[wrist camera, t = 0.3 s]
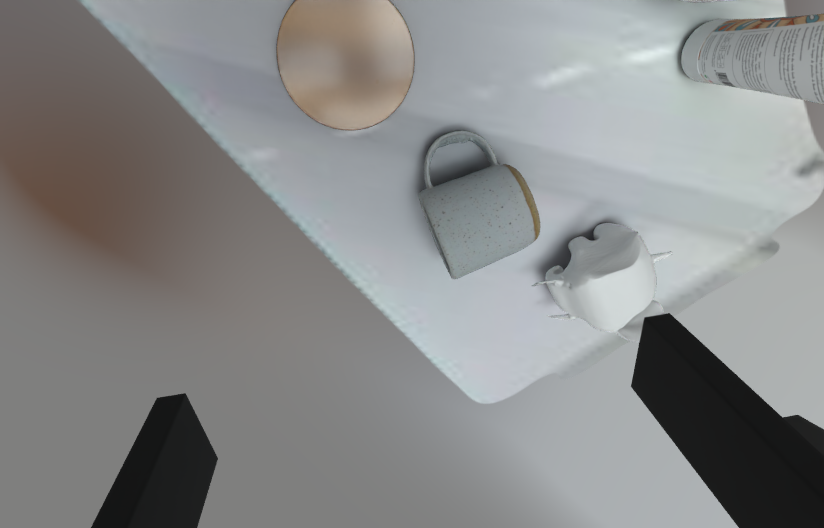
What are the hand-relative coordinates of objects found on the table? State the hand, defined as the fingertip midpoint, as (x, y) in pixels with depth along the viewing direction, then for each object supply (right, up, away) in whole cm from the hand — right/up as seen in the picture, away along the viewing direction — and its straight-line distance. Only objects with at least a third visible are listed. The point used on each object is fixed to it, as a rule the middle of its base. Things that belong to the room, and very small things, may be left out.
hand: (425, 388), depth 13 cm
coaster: (-5, +19, +20) cm, 28 cm away
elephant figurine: (+17, +4, +31) cm, 36 cm away
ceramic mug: (+4, +10, +26) cm, 28 cm away
